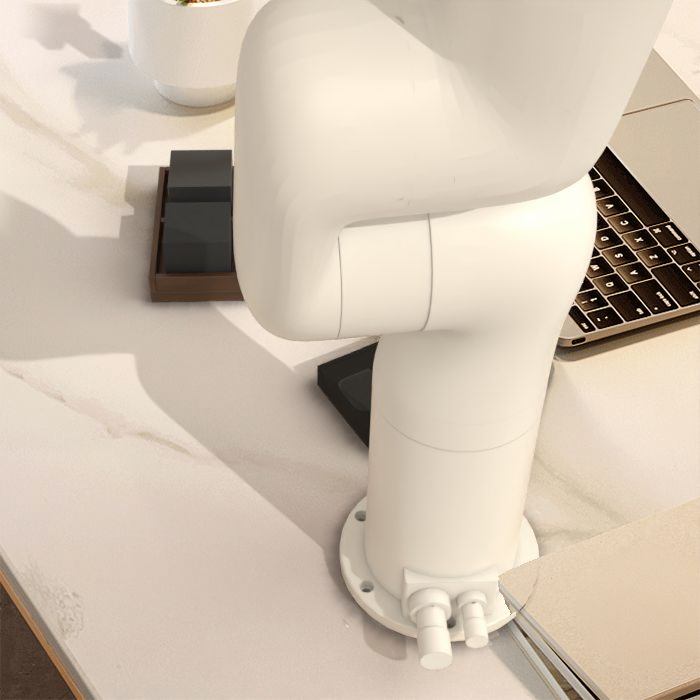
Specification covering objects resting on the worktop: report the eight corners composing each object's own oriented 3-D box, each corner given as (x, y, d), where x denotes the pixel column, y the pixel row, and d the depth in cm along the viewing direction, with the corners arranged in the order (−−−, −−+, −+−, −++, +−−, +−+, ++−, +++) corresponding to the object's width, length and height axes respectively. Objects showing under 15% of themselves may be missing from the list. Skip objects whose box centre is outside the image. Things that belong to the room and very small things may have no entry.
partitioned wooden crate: (247, 300, 98) (245, 250, 95) (151, 302, 98) (145, 252, 95) (248, 189, 109) (246, 140, 105) (161, 190, 108) (156, 141, 105)
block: (231, 282, 98) (229, 241, 96) (166, 283, 98) (162, 243, 95) (232, 241, 102) (230, 201, 99) (169, 242, 102) (165, 202, 99)
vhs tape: (538, 379, 93) (541, 360, 91) (371, 453, 87) (372, 433, 86) (479, 319, 97) (481, 300, 96) (317, 385, 92) (317, 365, 91)
